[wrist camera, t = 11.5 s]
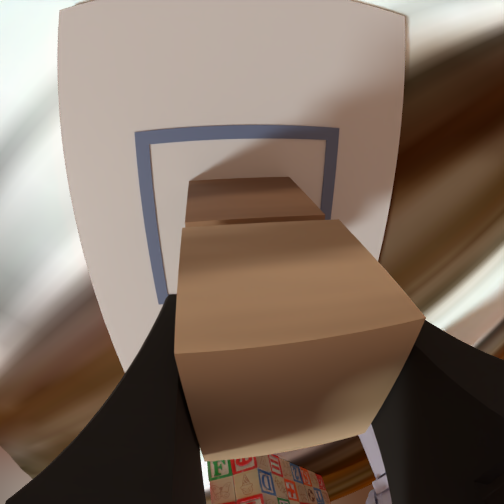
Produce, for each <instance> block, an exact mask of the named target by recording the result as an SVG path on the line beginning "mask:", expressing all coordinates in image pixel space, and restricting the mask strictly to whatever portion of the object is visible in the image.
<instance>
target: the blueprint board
mask: <svg viewBox="0 0 504 504" xmlns="http://www.w3.org/2000/svg"><path fill="white" fill-rule="evenodd" d="M404 76H405V16H402V15H399V14H396V13H393V12H390V11H387V10H384V9H380V8H377V7H373V6H370V5H366V4H362V3H358V2H354V1H350V0H94V1H90V2H86V3H83V4H79V5H75V6H72V7H68V8H65V9H62V10H60V12H59V27H58V96H59V112H60V124H61V134H62V143H63V151H64V158H65V165H66V172H67V178H68V184H69V190H70V195H71V200H72V205H73V210H74V215H75V220H76V224H77V229H78V233H79V237H80V241H81V245H82V249H83V253H84V257H85V260H86V264H87V267H88V271H89V274H90V278H91V281H92V284H93V288H94V291H95V294H96V297H97V300H98V303H99V306H100V309H101V312H102V315H103V318H104V321H105V324H106V326H107V329H108V332H109V334H110V337H111V340H112V342H113V345H114V347H115V350H116V353H117V355H118V357H119V360H120V362H121V365H122V367H123V369H124V372H125V373H126V371H127V370H128V368H129V366H130V365H131V363H132V362H133V360H134V358H135V357H136V355H137V354H138V352H139V350H140V348H141V347H142V345H143V343H144V341H145V339H146V338H147V336H148V334H149V332H150V330H151V329H152V327H153V325H154V323H155V321H156V319H157V317H158V315H159V313H160V310H161V308H162V306H163V304H164V301H165V299H166V297H167V296H168V295H172V294H177V284H178V270H179V258H180V246H181V235H182V228H185V215H186V205H187V195H188V185H189V181H196V180H213V179H232V178H258V177H290V178H291V179H292V180H293V181H294V182H295V183H296V184H297V185H298V186H299V187H300V188H301V189H302V191H303V192H304V193H305V194H306V195H307V196H308V197H309V198H310V199H311V200H312V201H313V202H314V203H315V204H316V205H317V206H318V207H319V209H320V210H321V211H322V212H323V213H324V214H325V220H336V219H339V220H340V221H341V222H342V223H343V224H344V225H345V226H346V228H347V229H348V230H349V231H350V232H351V233H352V234H353V235H354V236H355V237H356V238H357V239H358V240H359V241H360V242H361V244H362V245H363V246H364V247H365V248H366V249H367V250H368V251H369V252H370V253H371V254H372V256H373V257H374V258H375V259H376V260H377V261H378V259H379V255H380V250H381V246H382V241H383V237H384V232H385V227H386V222H387V217H388V212H389V206H390V201H391V195H392V189H393V183H394V177H395V170H396V163H397V155H398V147H399V139H400V130H401V120H402V108H403V94H404Z"/></svg>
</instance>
